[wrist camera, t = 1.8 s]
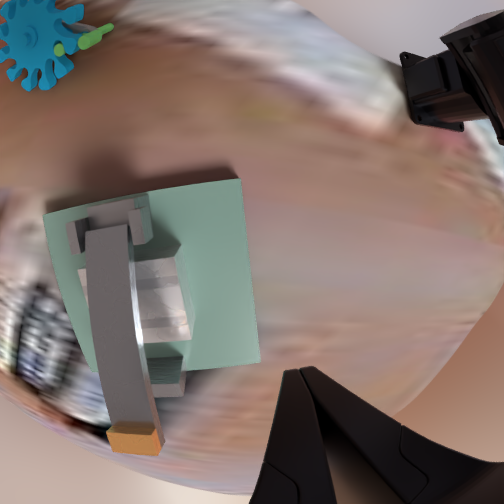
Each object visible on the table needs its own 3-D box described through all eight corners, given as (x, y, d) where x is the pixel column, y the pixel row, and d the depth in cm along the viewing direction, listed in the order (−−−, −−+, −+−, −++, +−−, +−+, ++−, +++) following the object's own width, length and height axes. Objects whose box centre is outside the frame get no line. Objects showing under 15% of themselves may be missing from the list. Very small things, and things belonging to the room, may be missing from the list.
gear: (-11, 84, 11) (-4, -18, 3) (32, 53, 14) (51, -36, 6) (73, 114, 14) (102, -18, 7) (115, 78, 17) (154, -26, 10)
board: (239, 178, 17) (240, 178, 16) (258, 353, 21) (260, 362, 19) (51, 212, 16) (42, 215, 15) (96, 363, 19) (91, 372, 18)
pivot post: (163, 191, 17) (138, 197, 11) (168, 224, 17) (145, 243, 12) (105, 202, 16) (63, 214, 11) (110, 233, 17) (71, 255, 12)
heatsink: (181, 244, 17) (174, 257, 14) (195, 317, 18) (191, 339, 15) (96, 256, 16) (77, 269, 13) (115, 323, 17) (101, 344, 15)
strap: (92, 235, 13) (77, 227, 11) (132, 228, 13) (120, 219, 11) (124, 439, 11) (113, 451, 9) (165, 441, 11) (157, 455, 9)
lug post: (185, 346, 20) (176, 396, 14) (188, 359, 20) (181, 408, 15) (136, 349, 19) (117, 396, 14) (140, 361, 20) (123, 408, 14)
